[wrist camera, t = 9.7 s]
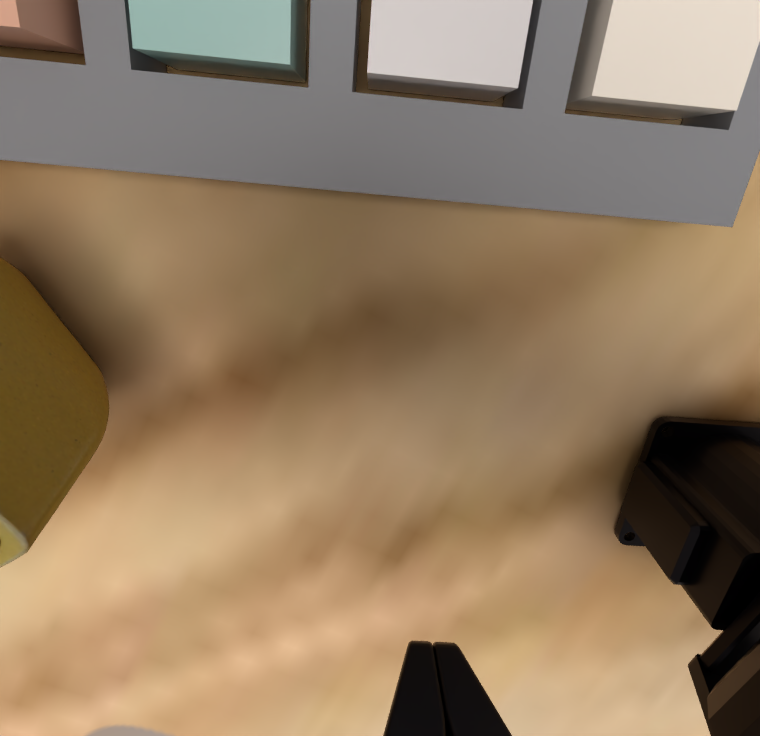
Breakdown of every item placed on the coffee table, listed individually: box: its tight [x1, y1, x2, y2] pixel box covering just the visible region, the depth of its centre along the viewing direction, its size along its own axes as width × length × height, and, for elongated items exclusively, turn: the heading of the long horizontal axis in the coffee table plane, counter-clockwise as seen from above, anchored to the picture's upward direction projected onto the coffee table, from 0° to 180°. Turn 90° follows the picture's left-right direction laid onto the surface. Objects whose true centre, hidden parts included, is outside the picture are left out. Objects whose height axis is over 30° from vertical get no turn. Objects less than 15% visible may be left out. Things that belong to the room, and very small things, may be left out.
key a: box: [565, 0, 760, 120], centre depth 14 cm, size 4×4×3 cm
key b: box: [367, 0, 533, 102], centre depth 13 cm, size 4×4×3 cm
